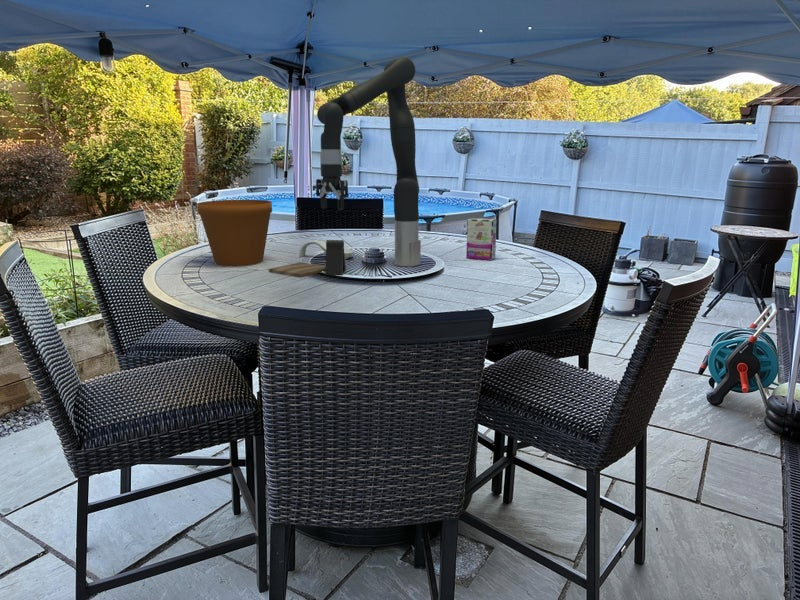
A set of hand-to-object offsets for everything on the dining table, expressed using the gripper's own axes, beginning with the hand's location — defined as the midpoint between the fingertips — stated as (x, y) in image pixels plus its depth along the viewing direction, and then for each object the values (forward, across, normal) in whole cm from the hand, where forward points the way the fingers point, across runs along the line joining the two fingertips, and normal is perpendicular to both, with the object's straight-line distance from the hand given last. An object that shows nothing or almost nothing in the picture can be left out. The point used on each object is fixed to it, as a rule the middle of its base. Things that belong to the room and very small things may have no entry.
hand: (332, 209), depth 207 cm
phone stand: (+23, -3, +2) cm, 23 cm away
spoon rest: (+23, +22, -17) cm, 37 cm away
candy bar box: (+23, -28, -57) cm, 67 cm away
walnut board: (+23, +10, +8) cm, 26 cm away
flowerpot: (+23, +42, +12) cm, 50 cm away
